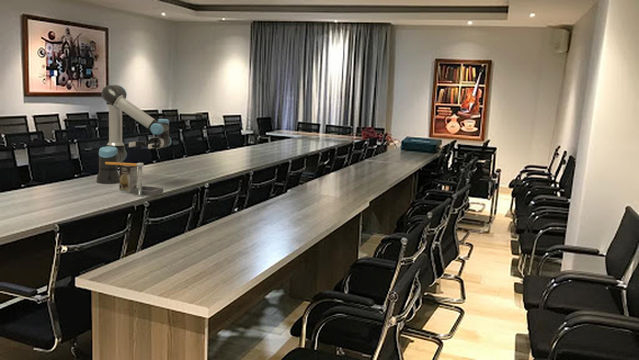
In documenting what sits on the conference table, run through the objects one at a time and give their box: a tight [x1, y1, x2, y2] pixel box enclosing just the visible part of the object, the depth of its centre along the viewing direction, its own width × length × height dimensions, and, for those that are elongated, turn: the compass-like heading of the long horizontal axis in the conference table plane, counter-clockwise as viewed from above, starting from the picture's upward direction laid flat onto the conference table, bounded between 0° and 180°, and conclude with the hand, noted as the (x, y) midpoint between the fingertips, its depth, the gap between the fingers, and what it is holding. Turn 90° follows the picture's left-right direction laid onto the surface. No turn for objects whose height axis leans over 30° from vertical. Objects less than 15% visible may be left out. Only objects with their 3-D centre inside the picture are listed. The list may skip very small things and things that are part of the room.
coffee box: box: [118, 165, 138, 192], centre depth 343 cm, size 9×6×16 cm
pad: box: [119, 190, 132, 194], centre depth 345 cm, size 9×9×1 cm
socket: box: [131, 185, 164, 197], centre depth 344 cm, size 14×14×3 cm
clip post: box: [134, 167, 145, 197], centre depth 334 cm, size 4×4×18 cm
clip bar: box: [105, 162, 145, 168], centre depth 332 cm, size 4×22×2 cm, turn 93°
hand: (138, 145), depth 352 cm, fingers open, 13 cm apart
